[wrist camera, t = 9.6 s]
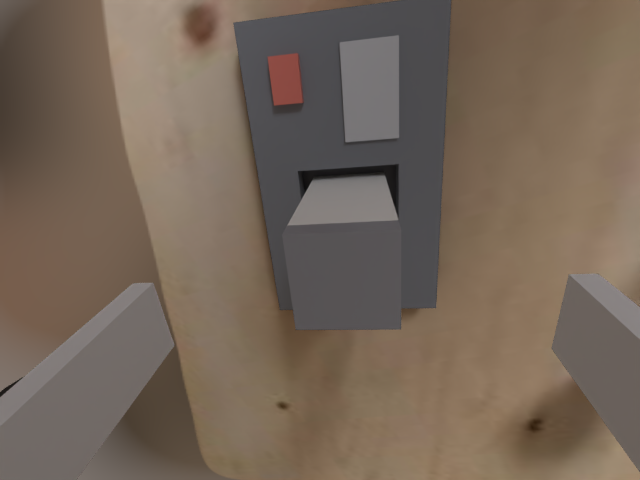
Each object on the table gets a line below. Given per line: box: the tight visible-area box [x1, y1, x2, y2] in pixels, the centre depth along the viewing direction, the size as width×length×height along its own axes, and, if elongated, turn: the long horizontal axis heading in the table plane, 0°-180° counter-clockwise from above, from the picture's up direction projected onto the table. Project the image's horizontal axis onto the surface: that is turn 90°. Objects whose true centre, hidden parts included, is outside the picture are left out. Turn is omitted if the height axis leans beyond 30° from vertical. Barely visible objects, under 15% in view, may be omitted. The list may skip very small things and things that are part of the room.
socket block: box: [233, 0, 451, 310], centre depth 21 cm, size 18×11×2 cm, turn 5°
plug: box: [282, 172, 401, 330], centre depth 18 cm, size 4×4×10 cm
